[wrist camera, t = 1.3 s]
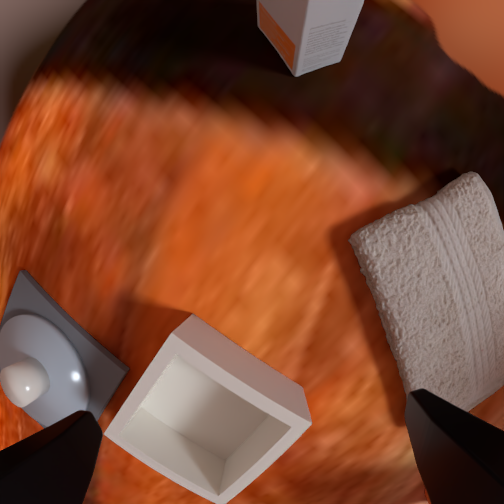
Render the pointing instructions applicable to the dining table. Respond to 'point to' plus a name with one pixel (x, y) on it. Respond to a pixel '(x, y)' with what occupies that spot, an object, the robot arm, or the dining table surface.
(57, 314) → the mat
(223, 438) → the dish
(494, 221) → the washcloth
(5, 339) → the lid
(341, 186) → the dining table surface
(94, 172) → the dining table surface
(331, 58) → the skincare box
